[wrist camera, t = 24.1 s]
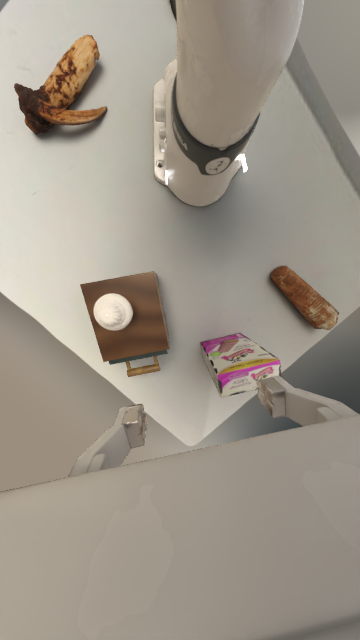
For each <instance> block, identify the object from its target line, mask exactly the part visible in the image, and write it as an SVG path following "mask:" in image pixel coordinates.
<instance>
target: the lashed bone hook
mask: <svg viewBox="0 0 360 640" xmlns="http://www.w3.org/2000/svg"><path fill="white" fill-rule="evenodd" d="M99 56H100V55H99V52H98V47H97V43H96V41H95V40H94V38H93V36H92V35H91V36H90V35H85V36H83V37H81V38H79V39H78V40H77V41H76V42H75V43H74V44H73V45H72V46H71V48H70V49H69V50H68V51H67V52H66V53H65V54H64V55H63V57H62V58H61V60H60V61H59V62H58V63H57V66H56V67H55V69H54V71H53V72H52V73H51V75H50V76H49V77H48V79H47V80H46V82H45V84H44V85H43V86H41V87H40V89H39V90H37V91H36V90H34V91H33V90H32V89H31V88H27V87H24V86H22V85H20V84H17V83H16V84H15V85H14V88H15V91H16V93H17V94H18V96H19V105H20V110H21V111H22V112H23V113H24V115H25V123H26V125H27V126H28V127H29V128H30V129H31V130H32V131H33V132H34V133H35V134H36V135H37V134H40V133H42V132H48V131H49V129H51V127H52V125H53V123H56V124H60V125H82V124H86V123H90V122H93V121H95V120H97V119H99V118H100V117H102V116H103V115H104V113H105V112H106V110H107V107H102V108H98V109H92V110H85V111H71V110H66V108H67V107H68V106H69V105H70V104H71V103H73V101H74V100H75V99H76V97H77V96H78V95H79V94H80V92H81V89H82V87H83V85H84V83H85V82H86V81H87V80H88V77H89V76H90V73H91V72H92V70H93V68H94V67H95V60H98V59H99Z"/></svg>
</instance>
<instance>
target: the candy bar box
mask: <svg viewBox="0 0 360 640" xmlns="http://www.w3.org/2000/svg"><path fill="white" fill-rule="evenodd" d="M201 348H202V354H203V359H204V361H205V363H206V365H207V368H208V370H209V372H210V374H211V376H212V379H213V381H214V383H215V385H216V388H217V390H218V392H219V394H220V396H221V397H226V396H230V395H235V394H239V393H243V392H248V391H252V390H256V389H259V387H258V386H257V380H261V379H266V378H270V377H274V376H280V377H281V370H280V367H281V365H280V359H278V358H276V357H275V356H273V355H272V354H271V353H269V352H268V351H266V350H265V349H263V348H262V347H260V346H259V345H257V344H256V343H254V342H253V341H251V340H250V339H249V338H247V337H246V336H244V335H243V334H241V333H238V334H234V335H230V336H226V337H221V338H217V339H213V340H209V341H204V342H201ZM281 378H282V377H281Z"/></svg>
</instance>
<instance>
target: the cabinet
mask: <svg viewBox="0 0 360 640" xmlns="http://www.w3.org/2000/svg"><path fill="white" fill-rule="evenodd" d="M80 286H81V289H82V292H83V295H84V299H85V302H86V305H87V309H88V312H89V315H90V319H91V322H92V325H93V328H94V332H95V335H96V338H97V342H98V345H99V348H100V352H101V355H102V358H103V362H106V361H111V360H116V359H121V358H126V357H132V356H137V355H142V354H147V353H152V352H157V351H163V350H168V349H169V333H168V328H167V323H166V318H165V313H164V308H163V303H162V298H161V293H160V288H159V283H158V278H157V274H156V273H155V272H148V273H142V274H136V275H131V276H125V277H120V278H114V279H108V280H103V281H97V282H91V283H86V284H81V285H80ZM111 293H114V294H119V295H121V296H123V297H124V298H126V299H127V300H128V302H129V303H130V305H131V307H132V310H133V316H132V319H131V321H130V323H129V324H128V325H127V326H126V327H125V328H123V329H121V330H116V331H112V330H108V329H105V328H104V327H102V326H101V325H100V324H99V323H98V322H97V321H96V319H95V317H94V312H93V311H94V305H95V303H96V302H97V300H98V299H99V298H100V297H102V296H103V295H106V294H111Z"/></svg>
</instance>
